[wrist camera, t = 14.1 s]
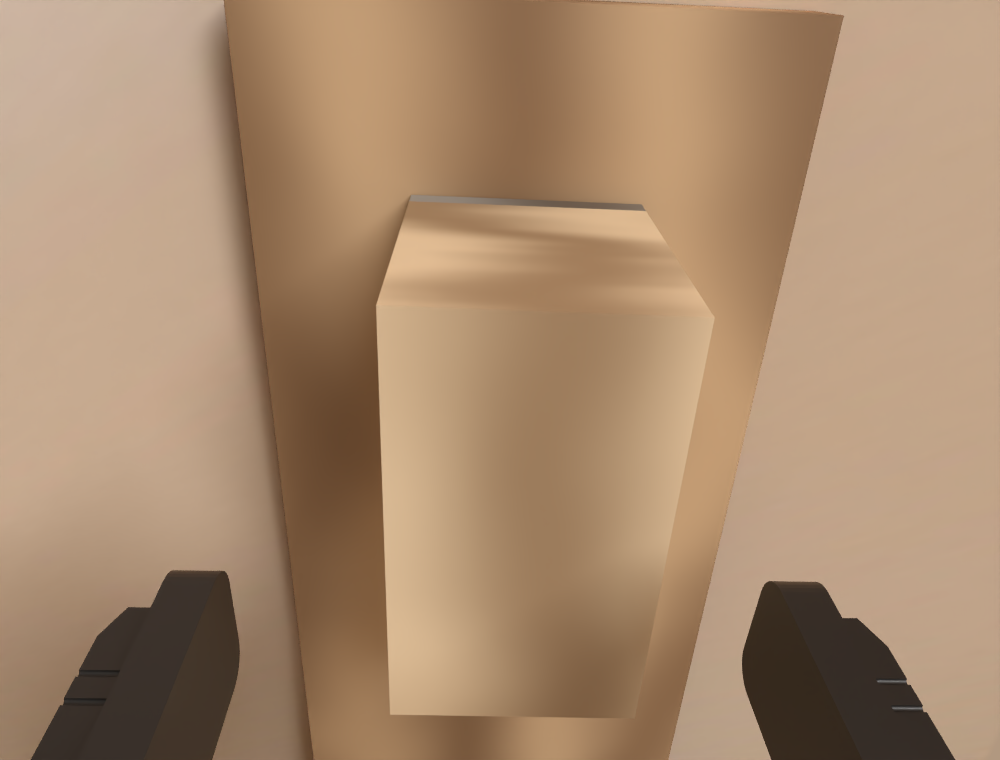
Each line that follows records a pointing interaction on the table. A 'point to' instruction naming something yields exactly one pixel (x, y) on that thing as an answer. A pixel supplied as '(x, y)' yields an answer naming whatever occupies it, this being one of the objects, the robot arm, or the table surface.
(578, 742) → the board
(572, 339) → the block
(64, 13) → the table surface
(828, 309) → the table surface
